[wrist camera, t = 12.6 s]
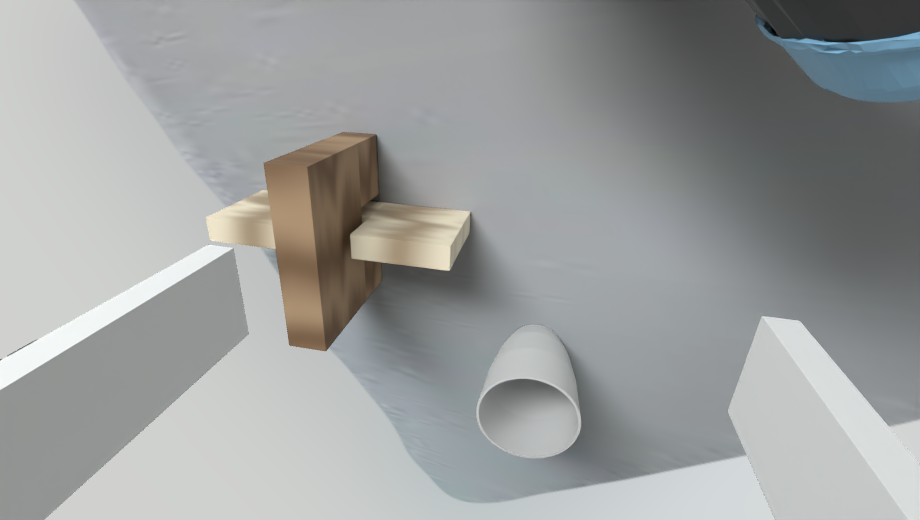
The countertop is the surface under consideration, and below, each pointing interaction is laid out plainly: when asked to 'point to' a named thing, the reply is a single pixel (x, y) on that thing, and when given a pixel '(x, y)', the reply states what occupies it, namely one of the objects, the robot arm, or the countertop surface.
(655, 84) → the countertop surface
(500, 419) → the cup
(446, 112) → the countertop surface
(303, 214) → the brown wooden board
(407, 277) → the countertop surface
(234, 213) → the maple plate
